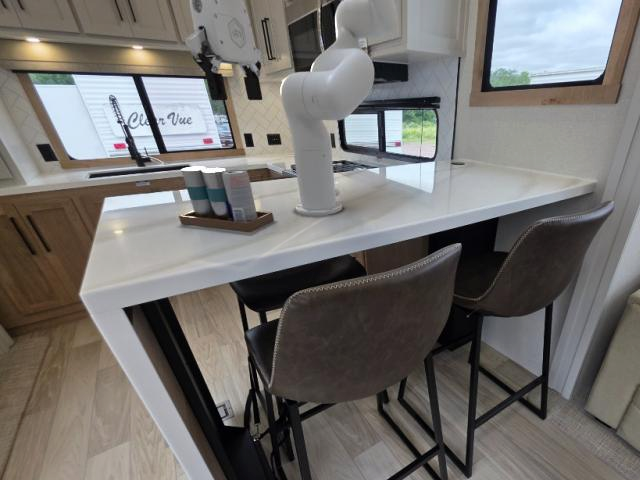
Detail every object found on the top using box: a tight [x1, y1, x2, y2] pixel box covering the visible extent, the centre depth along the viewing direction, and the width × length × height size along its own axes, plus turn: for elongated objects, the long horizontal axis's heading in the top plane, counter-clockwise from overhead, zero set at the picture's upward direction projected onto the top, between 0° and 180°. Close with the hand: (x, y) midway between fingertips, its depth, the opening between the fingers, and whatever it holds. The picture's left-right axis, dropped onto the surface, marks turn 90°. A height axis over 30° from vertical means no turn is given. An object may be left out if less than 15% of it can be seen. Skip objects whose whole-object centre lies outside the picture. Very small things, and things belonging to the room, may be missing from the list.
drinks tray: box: [178, 210, 275, 234], centre depth 80 cm, size 9×19×2 cm, turn 74°
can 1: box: [180, 166, 215, 219], centre depth 78 cm, size 5×5×12 cm
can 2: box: [201, 167, 233, 221], centre depth 77 cm, size 5×5×12 cm
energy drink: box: [222, 169, 258, 223], centre depth 76 cm, size 5×5×12 cm
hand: (238, 100), depth 64 cm, fingers open, 9 cm apart
